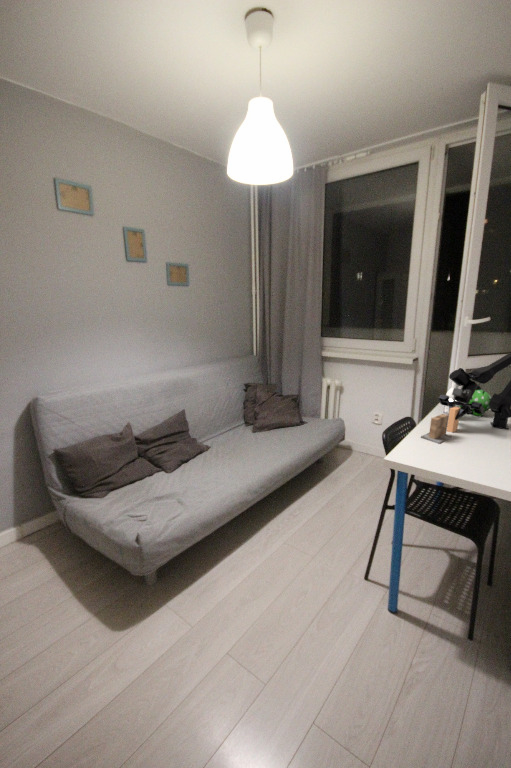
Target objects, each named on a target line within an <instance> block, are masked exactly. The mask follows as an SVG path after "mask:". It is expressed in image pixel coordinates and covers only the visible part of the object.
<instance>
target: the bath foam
mask: <svg viewBox="0 0 511 768" xmlns="http://www.w3.org/2000/svg"><path fill="white" fill-rule="evenodd" d="M451 381H452V380H451ZM454 388H457V389H459V386H458V385H457V384H456V383H454V382H453V381H452V382H451V387H450V388H449V389H448V391H447V392H446V393H445V395H447V396H449V398H451V399H454V395H452V393H453V390H454ZM454 400H455V399H454ZM455 407H459V408H460V406H459V405H455ZM442 414H445V415H449V406H445V405H443V411H442ZM448 418H449V417H448Z"/></svg>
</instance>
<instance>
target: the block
mask: <svg viewBox="0 0 511 768" xmlns="http://www.w3.org/2000/svg"><path fill="white" fill-rule="evenodd" d="M460 409H461V408H459V407H453V408H450V411H449V418H448V424H447V430H446V432H449V433H455V432H456V431H458V427H459V421H460V418H459V419H457V420H455V418H456V415H457V414H458V412H459V411H460Z"/></svg>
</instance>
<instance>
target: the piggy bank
mask: <svg viewBox="0 0 511 768" xmlns="http://www.w3.org/2000/svg"><path fill="white" fill-rule="evenodd" d="M492 397H493V396H491V394H489V392H487V391H485V390H483V389H481V390H475V392H474V394H473V396H472V400H470V402H469V404H471V403H472V402H473V401H474V402H478V403H482V405H483V408H484V412H483V414H477V413H475V412H474V409H472V410H471V412H472V414H473V415H474V416H477V417H483V415H484V414H485V413H486V412H488V411H489V410H491V408H490V407H489V402H490V399H491V398H492ZM460 408H461V406H460Z"/></svg>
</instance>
